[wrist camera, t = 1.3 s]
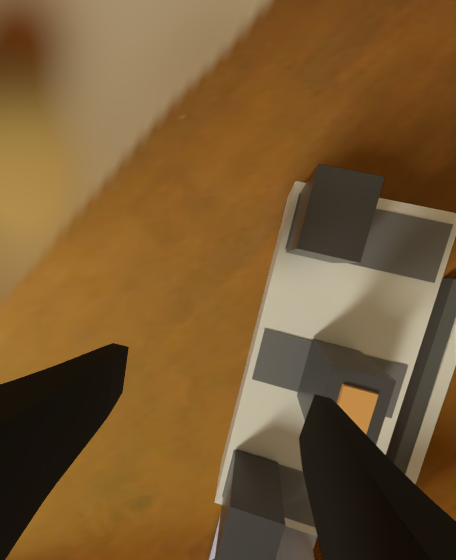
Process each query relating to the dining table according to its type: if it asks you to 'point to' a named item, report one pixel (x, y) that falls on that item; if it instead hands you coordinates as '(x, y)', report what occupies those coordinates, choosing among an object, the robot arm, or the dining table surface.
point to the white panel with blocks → (324, 338)
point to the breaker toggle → (347, 385)
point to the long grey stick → (426, 385)
